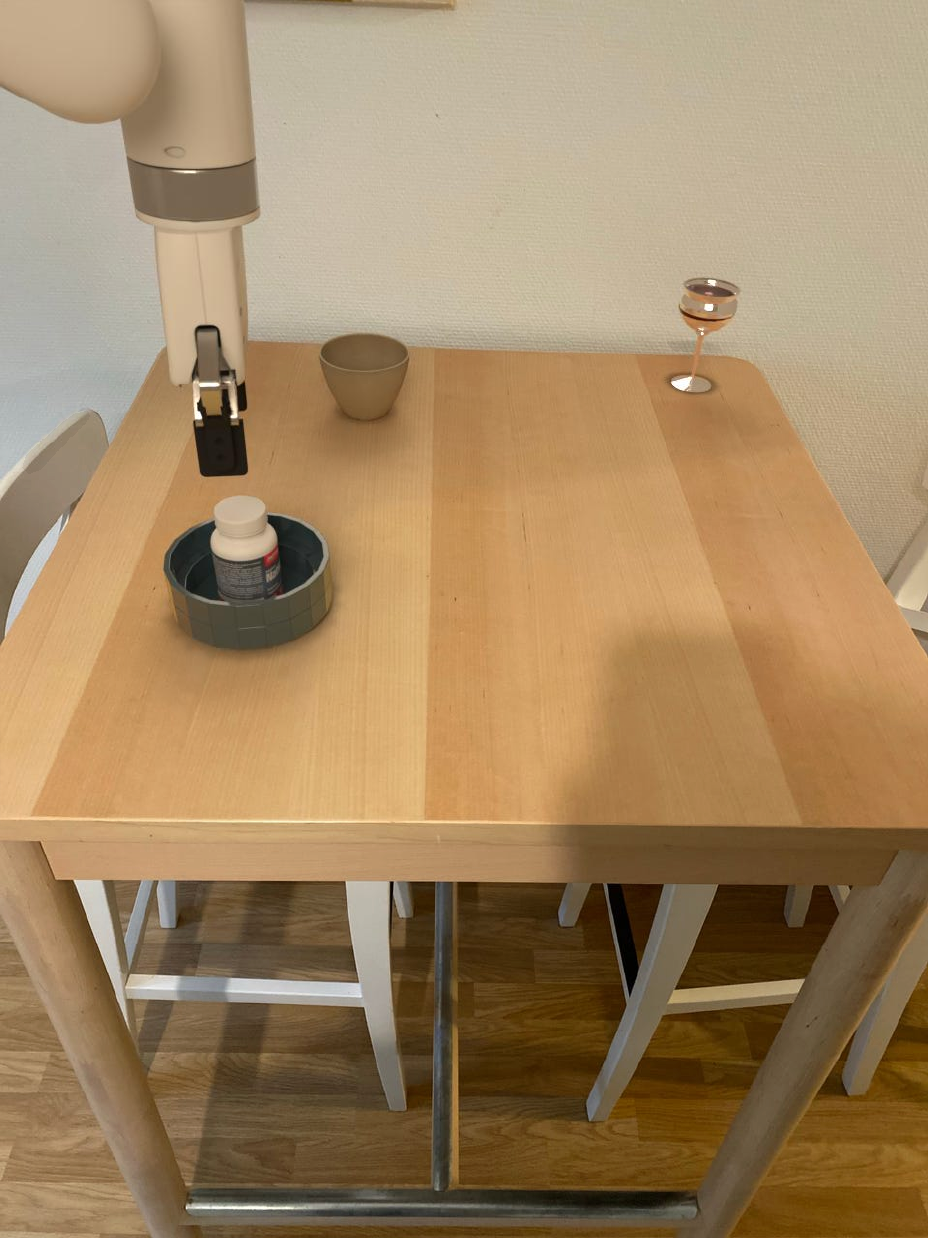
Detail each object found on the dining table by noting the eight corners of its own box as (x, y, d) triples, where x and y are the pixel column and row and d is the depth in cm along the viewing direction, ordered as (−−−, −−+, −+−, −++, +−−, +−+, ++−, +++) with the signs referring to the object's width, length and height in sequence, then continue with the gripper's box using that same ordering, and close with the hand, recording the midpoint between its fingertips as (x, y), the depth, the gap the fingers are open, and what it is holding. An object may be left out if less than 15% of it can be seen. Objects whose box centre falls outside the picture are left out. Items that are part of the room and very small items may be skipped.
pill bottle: (281, 618, 74) (270, 527, 68) (215, 619, 73) (200, 528, 68) (286, 579, 78) (276, 490, 72) (224, 579, 77) (210, 490, 72)
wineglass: (726, 394, 111) (750, 297, 103) (673, 396, 110) (693, 298, 102) (707, 371, 116) (728, 276, 108) (656, 372, 115) (674, 277, 108)
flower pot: (303, 411, 103) (299, 351, 98) (362, 383, 109) (360, 325, 105) (369, 440, 99) (367, 378, 94) (427, 408, 105) (428, 349, 100)
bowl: (169, 662, 70) (158, 612, 67) (178, 564, 80) (168, 516, 77) (337, 647, 72) (334, 598, 69) (326, 553, 82) (323, 506, 79)
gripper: (143, 153, 61) (178, 390, 72) (116, 230, 48) (164, 505, 59) (256, 156, 63) (274, 388, 73) (261, 230, 49) (282, 500, 60)
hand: (225, 440), depth 66 cm, fingers open, 9 cm apart
